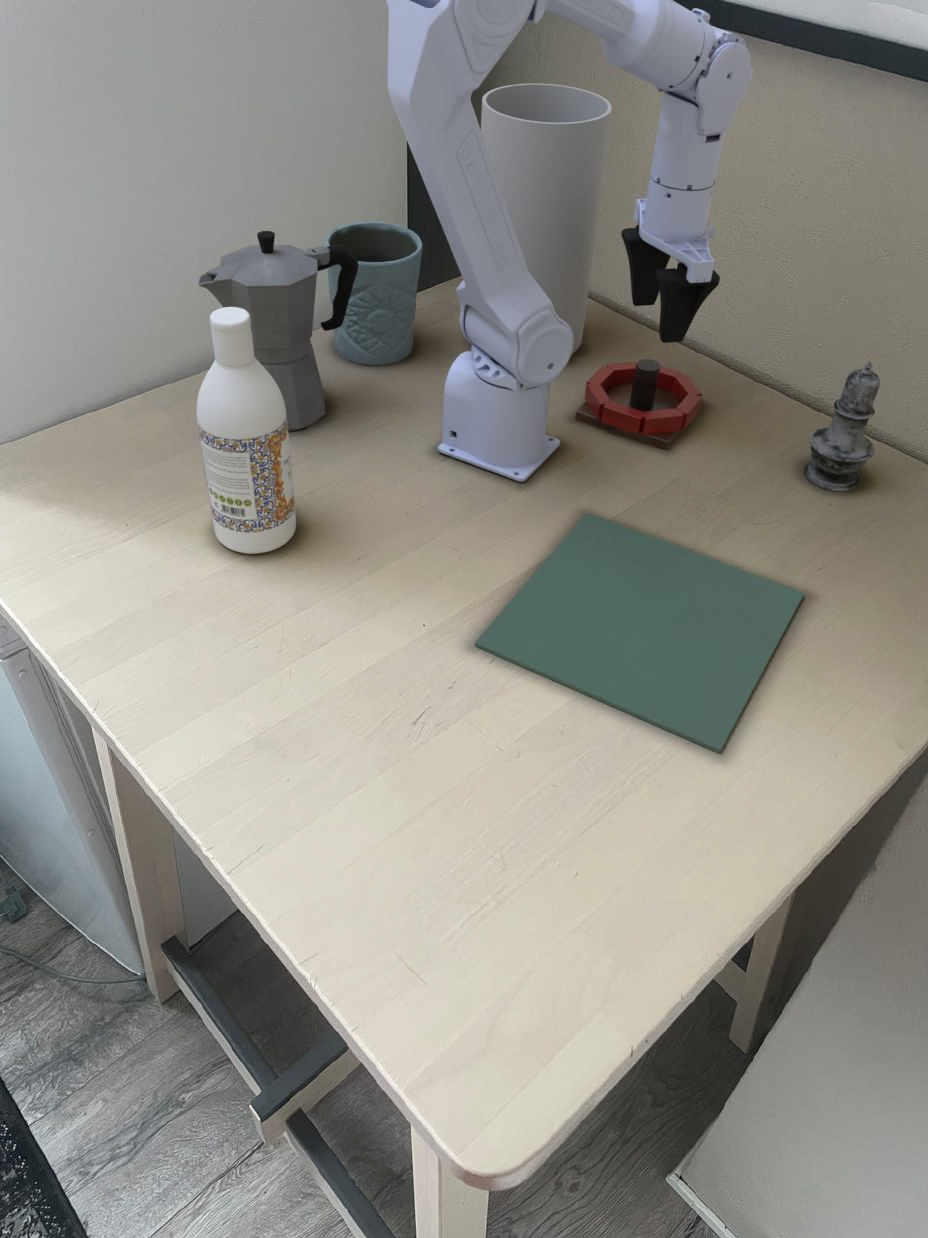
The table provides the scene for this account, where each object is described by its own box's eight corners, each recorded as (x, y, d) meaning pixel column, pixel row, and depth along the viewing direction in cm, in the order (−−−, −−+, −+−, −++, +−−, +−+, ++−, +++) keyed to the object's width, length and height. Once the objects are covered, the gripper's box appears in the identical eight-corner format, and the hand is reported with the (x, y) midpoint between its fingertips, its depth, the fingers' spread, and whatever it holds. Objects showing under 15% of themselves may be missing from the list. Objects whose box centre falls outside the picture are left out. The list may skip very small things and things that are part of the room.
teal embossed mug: (363, 317, 119) (360, 213, 110) (438, 341, 115) (441, 235, 107) (311, 352, 112) (303, 245, 104) (388, 379, 108) (387, 270, 100)
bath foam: (293, 557, 86) (272, 338, 73) (209, 556, 86) (173, 336, 72) (300, 507, 91) (281, 294, 78) (221, 506, 91) (189, 292, 77)
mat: (474, 646, 79) (474, 642, 79) (586, 515, 92) (586, 512, 92) (719, 754, 72) (720, 750, 72) (803, 596, 85) (804, 592, 85)
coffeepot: (236, 448, 98) (212, 265, 86) (203, 401, 104) (176, 224, 92) (381, 410, 104) (378, 234, 92) (342, 368, 110) (334, 198, 98)
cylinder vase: (495, 306, 122) (510, 76, 105) (595, 329, 119) (627, 95, 102) (453, 351, 113) (461, 109, 97) (559, 378, 110) (588, 131, 93)
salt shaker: (865, 497, 96) (908, 383, 88) (801, 488, 97) (837, 373, 89) (860, 463, 100) (900, 351, 92) (799, 454, 101) (833, 342, 93)
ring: (569, 411, 103) (571, 396, 102) (614, 366, 110) (616, 351, 109) (670, 445, 99) (674, 429, 98) (711, 397, 107) (714, 381, 105)
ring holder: (574, 419, 104) (581, 371, 100) (615, 378, 111) (622, 331, 107) (666, 450, 101) (676, 401, 97) (702, 406, 107) (713, 358, 103)
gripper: (759, 207, 86) (725, 354, 96) (693, 148, 97) (668, 286, 106) (680, 212, 85) (653, 360, 94) (622, 151, 95) (603, 290, 105)
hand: (656, 321), depth 100 cm, fingers open, 7 cm apart
